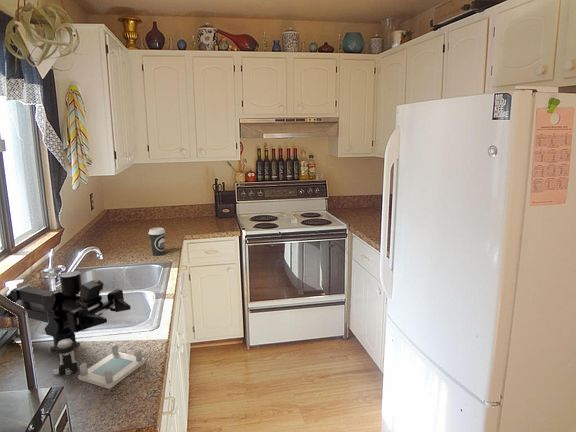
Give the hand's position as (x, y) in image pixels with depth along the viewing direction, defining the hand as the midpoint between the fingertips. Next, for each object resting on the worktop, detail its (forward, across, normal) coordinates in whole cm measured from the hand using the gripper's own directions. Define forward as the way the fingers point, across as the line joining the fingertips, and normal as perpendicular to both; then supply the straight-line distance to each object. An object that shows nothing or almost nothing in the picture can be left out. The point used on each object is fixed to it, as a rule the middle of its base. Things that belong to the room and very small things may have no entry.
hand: (118, 313), depth 118 cm
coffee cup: (-65, +93, +17) cm, 115 cm away
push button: (-12, -10, +17) cm, 23 cm away
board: (0, -4, +16) cm, 17 cm away
